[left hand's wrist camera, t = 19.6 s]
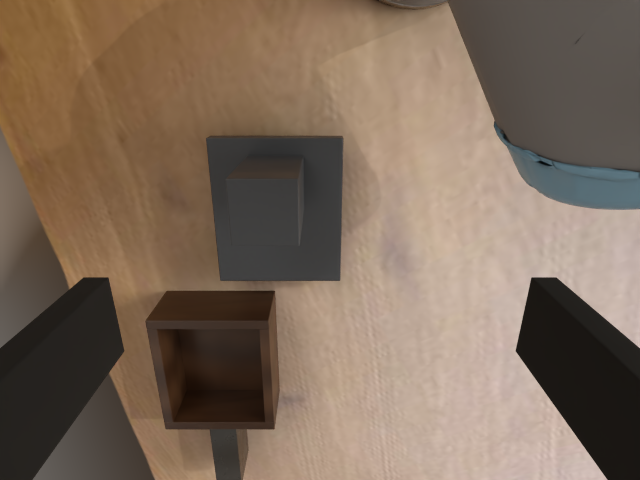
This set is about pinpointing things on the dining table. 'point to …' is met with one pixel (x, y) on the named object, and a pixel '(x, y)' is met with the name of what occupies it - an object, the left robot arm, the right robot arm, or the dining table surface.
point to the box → (217, 367)
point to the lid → (277, 206)
